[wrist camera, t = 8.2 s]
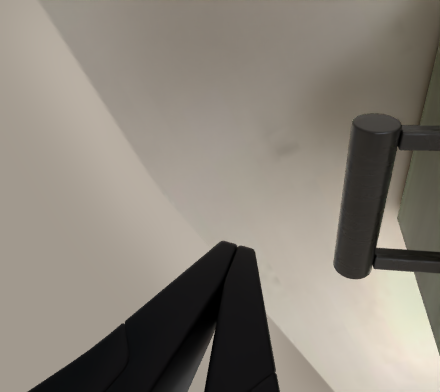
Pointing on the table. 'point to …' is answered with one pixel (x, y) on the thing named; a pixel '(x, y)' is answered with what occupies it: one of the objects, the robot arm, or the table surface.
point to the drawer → (410, 204)
